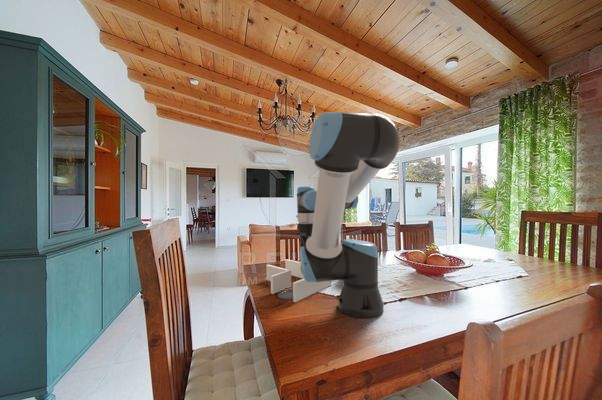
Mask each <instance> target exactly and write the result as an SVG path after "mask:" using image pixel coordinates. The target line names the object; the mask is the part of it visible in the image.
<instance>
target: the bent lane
mask: <svg viewBox="0 0 602 400" xmlns="http://www.w3.org/2000/svg"><path fill="white" fill-rule="evenodd" d="M284 261H285V263H284V264H285V268H283V267H279V266H275V265H271V264H266V266H265V267H266V281H268V282H270V294H272V295H274V294H276V293H277V294H278V293H280V292H281V291H280V290H281V289H284V290H286V289H285V288H287V289H289V288H291V287H292V291H293V299H292V300H293V301H292V302H293V303H297V302H299V301H302V300H304V299H306V298H308V297H310V296H312V295H313V294H316V293H318V292H320V291H322V290H325V289H326V288H328V287H330V286H332V281H325V282H317V283H316V282H307V281H306V280H305V279H304V277H303V275H302V272H301V262H300V261H296V260H292V259H284ZM292 276H293V277H295V278H300V279H299V280H296V281H294V282H292Z"/></svg>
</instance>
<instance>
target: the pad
mask: <svg viewBox="0 0 602 400" xmlns="http://www.w3.org/2000/svg"><path fill="white" fill-rule="evenodd" d="M287 290H288V291H286V290H285V291H286V292H283V293H282V291H279V292H277V297H278V298H279V299H281V300H293V289H292V290H289V289H287Z"/></svg>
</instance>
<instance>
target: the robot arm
mask: <svg viewBox="0 0 602 400" xmlns="http://www.w3.org/2000/svg"><path fill="white" fill-rule="evenodd" d="M308 143H309V148H308V151H309V157H310V158H311V159H312V160H313V161H314V166H315V167H316V168H317V169H318V179H317V185H316V186H317V188H316V190H315V188H314V186H299V187H297V188H296V204H297V205H296V206H297V207H296V208H297V215H296V218H297V222H298V223H297V232H298V233H300V235H299V239H300V240H299V241H300V243H299V244H300V246H299V249H298V250H299V262H301V268H302V273H303V274H302V275H303V277H304V279H305V280H306V281H307V282H316V283H317V282H325V281H331V282H332V281H333V282H334V281H343V283H342V288H341V291H340V293H339V296H338V306H337V307H338V309H339V311H341V312H342V313H343V314H345V315H348V316H350V317H355V318H360V319H361V318H362V319H371V318H376V317H379V316H381V315H382V314H383V313H384V301H383V299H382V295H381V292H380V289H379V262H378V261H379V254H378V253H379V252H378V247H377V245H376V244H375V243H373V242H371V241H366V240H360V239H353V238H346V239H343V240H342V241H340V236H341V230H342V224H343V218H344V213H345V210H349V209H350V210H353V209H355V208H357V207H358V204H359V195H360V194H361V192H362V191H363V190H364V189H365V188H366V187H367V186H368V184H369V183H371V180H373V178H374V177H376V175H377V174H378V172H380V170H383V169H386V168H387V167H389V166H390V164H391V163H392V162H393V161H394V159H395V158H396V156H397V155H398V152H399V148H400V133H399V130H398V128H397V127H396V124H395V123H394V122H393V121H392V120H391V119H389V118H388V117H386V116H385V115H382V114H379V113H364V112H363V113H360V112H359V113H358V112H346V111H331V112H330V111H327V112H326V111H324V112H322V113H320V114H319V115H317V117H316V119H315V120H314V123H313V125H312V128H311V133H310V137H309V142H308ZM341 242H342V243H341Z"/></svg>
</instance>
